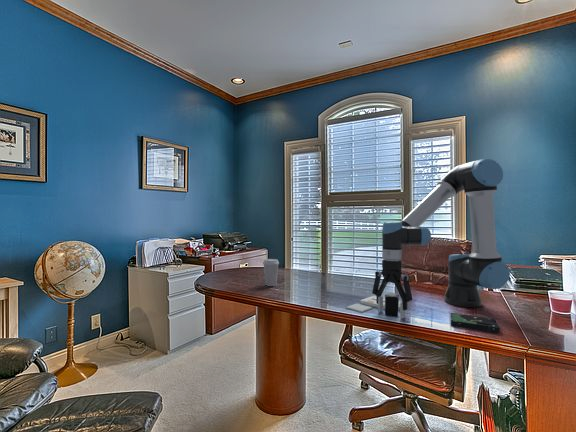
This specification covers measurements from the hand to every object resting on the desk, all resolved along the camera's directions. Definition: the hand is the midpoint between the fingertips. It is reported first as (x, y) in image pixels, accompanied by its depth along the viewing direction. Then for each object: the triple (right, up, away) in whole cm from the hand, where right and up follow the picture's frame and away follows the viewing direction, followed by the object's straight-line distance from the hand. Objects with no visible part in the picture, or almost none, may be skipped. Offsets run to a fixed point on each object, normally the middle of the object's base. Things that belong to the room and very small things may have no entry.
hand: (391, 314), depth 120 cm
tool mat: (-11, 0, +9) cm, 14 cm away
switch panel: (+2, 0, +15) cm, 15 cm away
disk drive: (+27, -1, -11) cm, 29 cm away
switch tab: (+4, +1, +12) cm, 13 cm away
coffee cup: (-52, 0, +51) cm, 73 cm away
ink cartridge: (0, 0, 0) cm, 0 cm away
